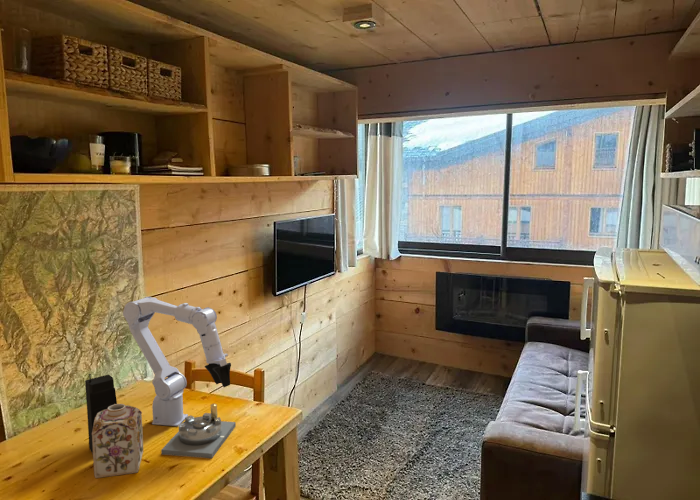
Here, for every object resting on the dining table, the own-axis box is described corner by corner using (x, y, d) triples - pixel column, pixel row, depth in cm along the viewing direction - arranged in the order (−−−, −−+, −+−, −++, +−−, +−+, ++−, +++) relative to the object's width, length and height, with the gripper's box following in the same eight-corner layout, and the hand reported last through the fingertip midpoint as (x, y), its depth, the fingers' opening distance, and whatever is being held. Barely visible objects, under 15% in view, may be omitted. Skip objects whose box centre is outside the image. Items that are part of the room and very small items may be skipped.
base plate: (161, 454, 152) (161, 449, 152) (190, 423, 172) (190, 418, 172) (212, 458, 150) (211, 453, 150) (235, 426, 170) (235, 421, 170)
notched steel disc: (195, 449, 152) (194, 424, 151) (170, 436, 160) (169, 412, 159) (229, 432, 162) (229, 409, 161) (204, 421, 170) (203, 398, 169)
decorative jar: (93, 479, 140) (89, 418, 137) (102, 457, 151) (98, 400, 148) (139, 473, 143) (136, 413, 140) (144, 452, 154) (141, 396, 151)
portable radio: (114, 440, 161) (110, 364, 157) (121, 447, 156) (117, 370, 153) (88, 449, 155) (82, 371, 152) (94, 456, 151) (89, 376, 148)
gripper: (230, 341, 161) (242, 382, 162) (216, 339, 173) (227, 377, 174) (209, 349, 157) (221, 391, 158) (196, 347, 169) (207, 385, 170)
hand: (223, 384), depth 165 cm, fingers open, 7 cm apart
